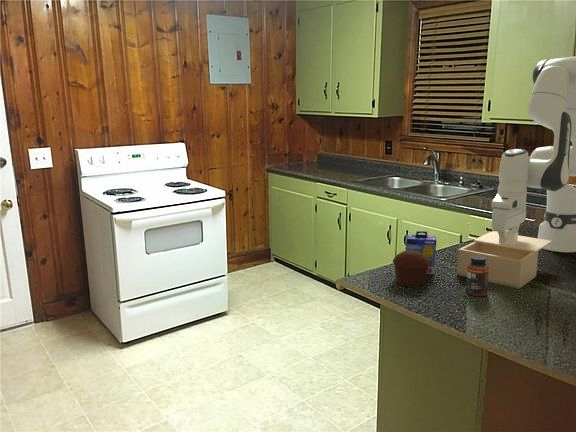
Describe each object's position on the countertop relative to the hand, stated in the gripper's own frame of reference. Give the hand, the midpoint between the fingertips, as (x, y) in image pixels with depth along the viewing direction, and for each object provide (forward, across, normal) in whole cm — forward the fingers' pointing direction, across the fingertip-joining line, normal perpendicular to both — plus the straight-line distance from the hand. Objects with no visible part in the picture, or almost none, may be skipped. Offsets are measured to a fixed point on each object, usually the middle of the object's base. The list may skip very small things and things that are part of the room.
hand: (508, 239), depth 172 cm
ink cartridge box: (+11, +20, -21) cm, 31 cm away
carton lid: (+2, -4, 0) cm, 4 cm away
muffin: (+11, +32, -18) cm, 38 cm away
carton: (+11, +8, 0) cm, 13 cm away
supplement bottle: (+11, +28, +2) cm, 30 cm away
